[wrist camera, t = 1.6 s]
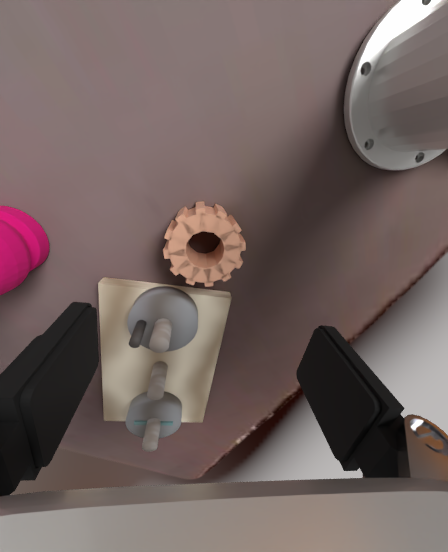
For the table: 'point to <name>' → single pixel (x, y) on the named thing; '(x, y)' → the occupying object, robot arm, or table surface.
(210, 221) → the gear
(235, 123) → the table surface
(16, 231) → the pepper mill
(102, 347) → the board
